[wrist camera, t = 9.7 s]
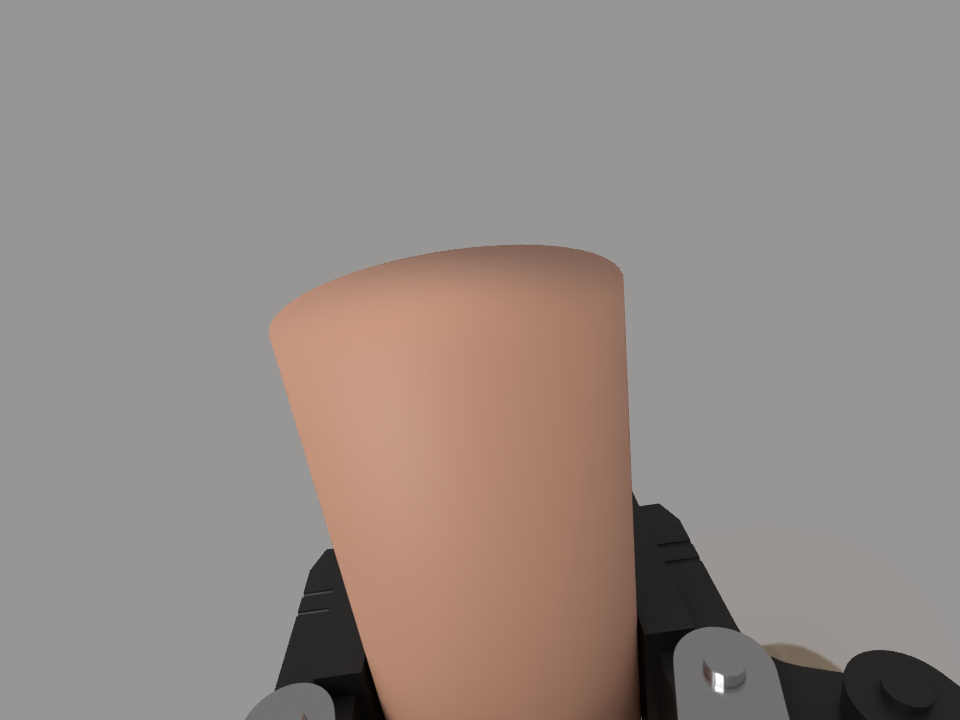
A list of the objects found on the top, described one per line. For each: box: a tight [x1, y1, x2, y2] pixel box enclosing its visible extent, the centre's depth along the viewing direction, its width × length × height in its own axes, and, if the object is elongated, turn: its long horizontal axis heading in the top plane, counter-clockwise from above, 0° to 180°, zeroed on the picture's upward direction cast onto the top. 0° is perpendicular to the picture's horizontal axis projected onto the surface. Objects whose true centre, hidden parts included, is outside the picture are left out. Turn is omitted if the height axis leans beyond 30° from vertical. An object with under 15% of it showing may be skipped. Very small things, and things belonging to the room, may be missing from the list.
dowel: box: [269, 245, 641, 720], centre depth 10 cm, size 4×4×14 cm
